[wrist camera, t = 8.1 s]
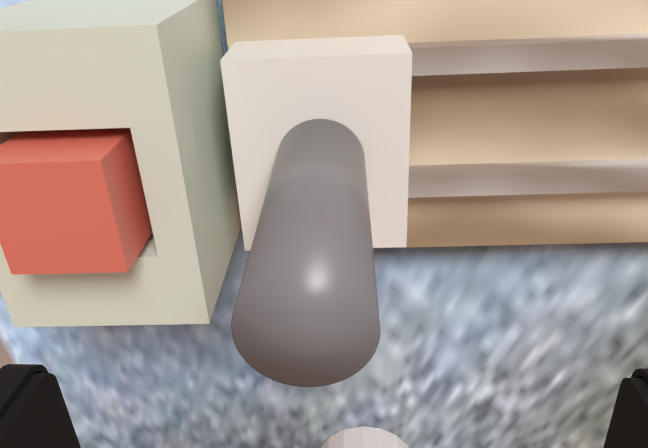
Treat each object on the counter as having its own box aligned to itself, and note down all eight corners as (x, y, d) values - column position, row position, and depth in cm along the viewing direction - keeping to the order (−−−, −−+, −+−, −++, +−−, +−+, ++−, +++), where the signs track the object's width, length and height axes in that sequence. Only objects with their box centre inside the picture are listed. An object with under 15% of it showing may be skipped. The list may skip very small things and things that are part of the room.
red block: (165, 209, 21) (128, 272, 17) (68, 212, 21) (11, 274, 17) (146, 114, 19) (100, 161, 15) (41, 117, 19) (-30, 164, 15)
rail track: (795, 221, 26) (837, 250, 24) (257, 234, 27) (249, 262, 25) (913, -72, 20) (982, -70, 18) (225, -40, 21) (211, -34, 19)
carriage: (399, 209, 23) (445, 450, 13) (255, 213, 24) (186, 451, 13) (403, 34, 20) (469, 167, 10) (235, 41, 20) (122, 176, 10)
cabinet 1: (244, 216, 27) (209, 323, 20) (99, 220, 27) (14, 327, 20) (215, -11, 22) (155, 24, 15) (40, -3, 22) (-99, 35, 15)
